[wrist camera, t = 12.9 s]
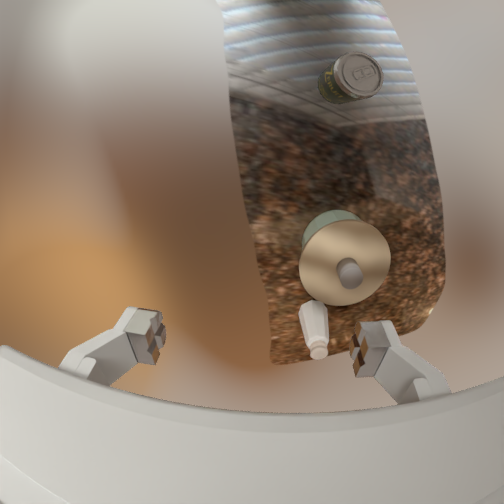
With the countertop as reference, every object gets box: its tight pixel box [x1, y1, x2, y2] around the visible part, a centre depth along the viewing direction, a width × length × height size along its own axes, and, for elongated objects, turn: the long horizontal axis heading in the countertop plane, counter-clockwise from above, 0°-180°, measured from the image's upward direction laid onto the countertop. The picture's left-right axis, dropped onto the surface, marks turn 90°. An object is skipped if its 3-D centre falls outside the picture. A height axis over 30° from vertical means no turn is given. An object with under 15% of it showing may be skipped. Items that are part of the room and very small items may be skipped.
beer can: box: [318, 52, 383, 104], centre depth 26 cm, size 5×5×12 cm
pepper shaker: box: [298, 300, 329, 360], centre depth 44 cm, size 5×5×11 cm
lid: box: [299, 219, 391, 306], centre depth 34 cm, size 13×13×4 cm
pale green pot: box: [302, 210, 362, 250], centre depth 39 cm, size 11×11×7 cm
